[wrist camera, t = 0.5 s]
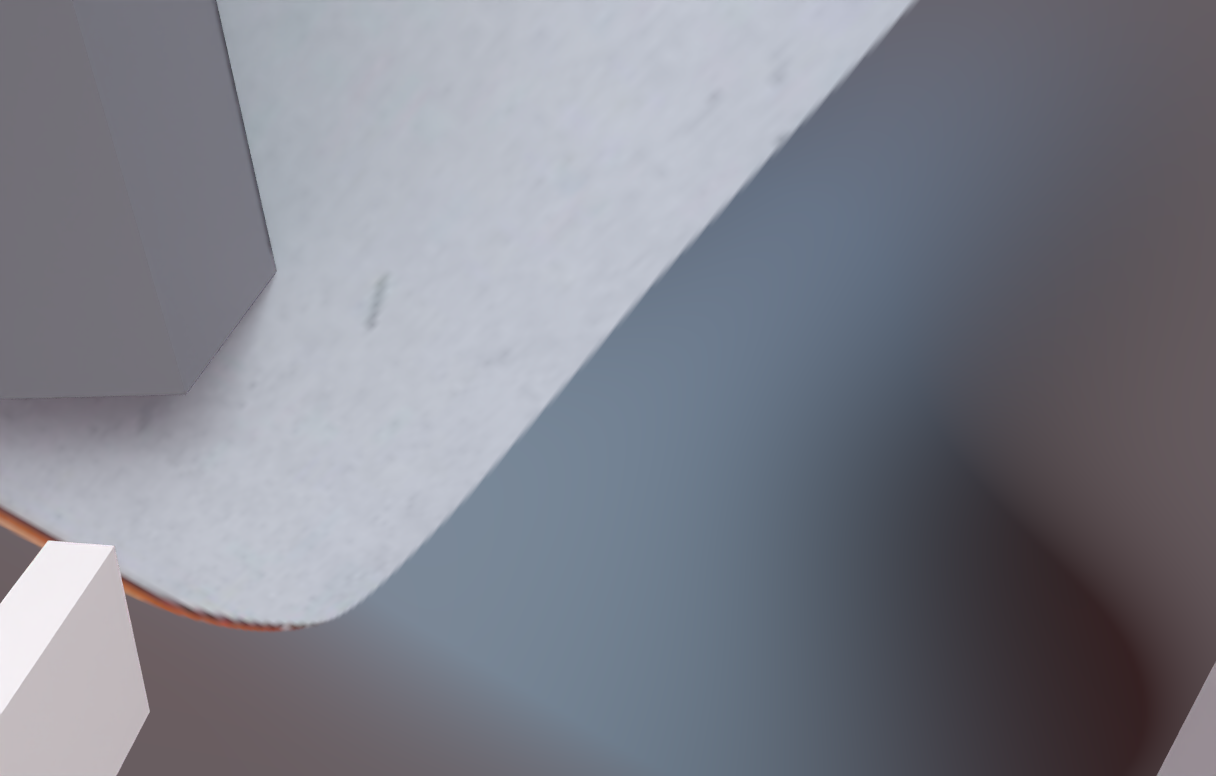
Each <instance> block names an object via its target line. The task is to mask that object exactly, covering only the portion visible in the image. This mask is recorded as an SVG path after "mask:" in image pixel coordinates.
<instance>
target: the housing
mask: <svg viewBox="0 0 1216 776" xmlns="http://www.w3.org/2000/svg"><path fill="white" fill-rule="evenodd" d="M275 273H276V266H275V262H274V257H273V253H272V248H271V244H270V239H269V235H268V230H267V226H266V222H265V217H264V213H263V208H262V204H261V199H260V195H259V190H258V186H257V181H256V177H255V172H254V168H253V163H252V159H251V154H250V150H249V146H248V141H247V137H246V132H245V128H244V123H243V119H242V114H241V110H240V105H239V101H238V96H237V92H236V87H235V83H234V78H233V74H232V69H231V65H230V61H229V56H228V52H227V47H226V43H225V38H224V34H223V29H222V25H221V20H220V16H219V11H218V7H217V2H216V0H0V399H31V398H69V397H107V396H145V395H183V394H187V392H188V391H189V390H190V388H191V387H192V386H193V384H194V383H195V382H196V380H197V379H198V377H199V376H200V375H201V373H202V372H203V371H204V369H205V368H206V367H207V365H208V364H209V363H210V361H211V360H212V358H213V357H214V356H215V354H216V353H217V352H218V350H219V349H220V348H221V346H222V345H223V343H224V342H225V341H226V339H227V338H228V337H229V335H230V334H231V333H232V331H233V330H234V328H235V327H236V326H237V324H238V323H239V322H240V320H241V319H242V318H243V316H244V315H245V313H246V312H247V311H248V309H249V308H250V307H251V305H252V304H253V303H254V301H255V300H256V298H257V297H258V296H259V294H260V293H261V292H262V290H263V289H264V288H265V286H266V285H267V283H268V282H269V281H270V279H271V278H272V277H273V275H274V274H275Z"/></svg>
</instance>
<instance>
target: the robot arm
mask: <svg viewBox="0 0 1216 776" xmlns="http://www.w3.org/2000/svg"><path fill="white" fill-rule="evenodd" d="M149 712H150V710H149V706H148V701H147V696H146V692H145V687H144V682H143V677H142V673H141V668H140V663H139V659H138V654H137V650H136V644H135V640H134V635H133V630H132V626H131V621H130V617H129V612H128V607H127V602H126V598H125V593H124V588H123V583H122V579H121V574H120V569H119V565H118V560H117V555H116V551H115V546H111V545H98V544H85V543H72V542H59V541H48V542H47V543H46V544H45V546H44V547H43V548H42V549H41V551H40V552H39V553H38V555H37V556H36V557H35V559H34V560H33V561H32V563H31V564H30V565H29V566H28V568H27V569H26V571H25V572H24V573H23V574H22V576H21V577H20V578H19V580H18V581H17V582H16V584H15V585H14V586H13V587H12V589H11V590H10V591H9V593H8V594H7V595H6V597H5V598H4V599H3V601H2V602H1V603H0V776H116V775H117V773H118V772H119V769H120V768H121V766H122V763H123V762H124V760H125V758H126V756H127V754H128V752H129V750H130V748H131V747H132V745H133V742H134V741H135V739H136V737H137V735H138V733H139V731H140V729H141V727H142V725H143V723H144V721H145V719H146V718H147V715H148V714H149ZM1157 776H1216V662H1215V664H1214V666H1213V668H1212V670H1211V672H1210V674H1209V675H1208V678H1207V679H1206V681H1205V683H1204V685H1203V687H1202V689H1201V691H1200V693H1199V695H1198V697H1197V699H1196V701H1195V703H1194V705H1193V707H1192V708H1191V711H1190V712H1189V714H1188V716H1187V718H1186V720H1185V722H1184V724H1183V726H1182V728H1181V730H1180V732H1179V734H1178V736H1177V738H1176V740H1175V741H1174V743H1173V746H1172V747H1171V749H1170V751H1169V753H1168V755H1167V757H1166V759H1165V761H1164V763H1163V765H1162V767H1161V769H1160V771H1159V773H1158V775H1157Z"/></svg>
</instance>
